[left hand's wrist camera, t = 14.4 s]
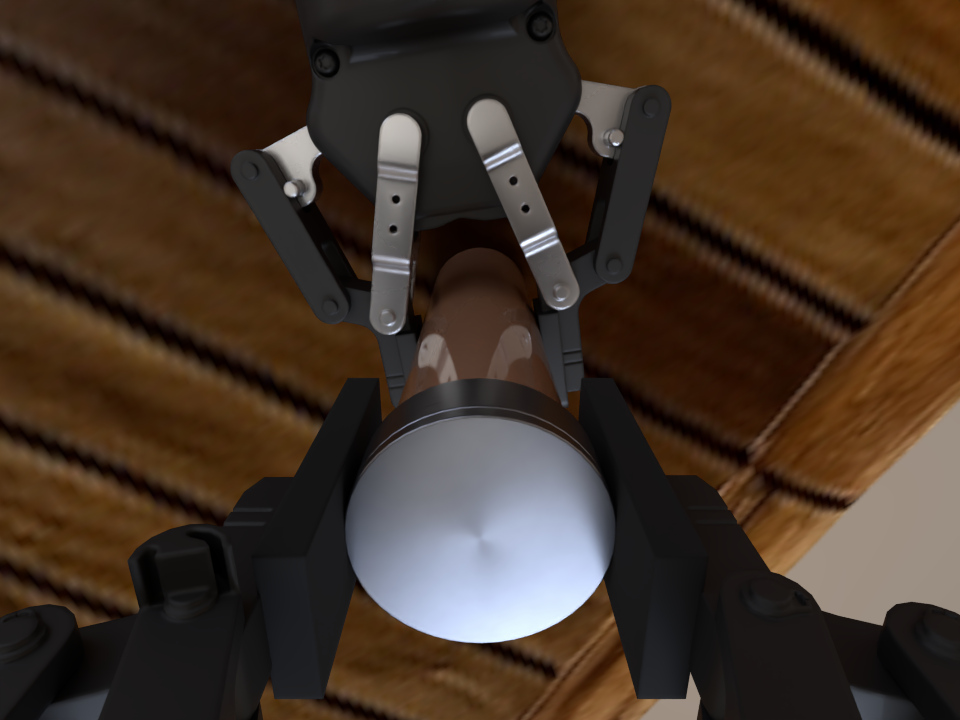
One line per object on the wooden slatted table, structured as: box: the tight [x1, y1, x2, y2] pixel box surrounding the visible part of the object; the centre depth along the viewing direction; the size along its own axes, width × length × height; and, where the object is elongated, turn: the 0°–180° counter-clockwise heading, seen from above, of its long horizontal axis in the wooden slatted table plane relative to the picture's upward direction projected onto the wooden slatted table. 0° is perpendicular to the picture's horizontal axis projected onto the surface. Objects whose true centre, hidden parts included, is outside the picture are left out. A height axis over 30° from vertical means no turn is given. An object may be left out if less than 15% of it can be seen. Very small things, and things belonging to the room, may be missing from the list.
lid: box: [344, 378, 617, 643], centre depth 12 cm, size 5×5×2 cm
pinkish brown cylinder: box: [398, 248, 562, 406], centre depth 19 cm, size 4×4×17 cm
